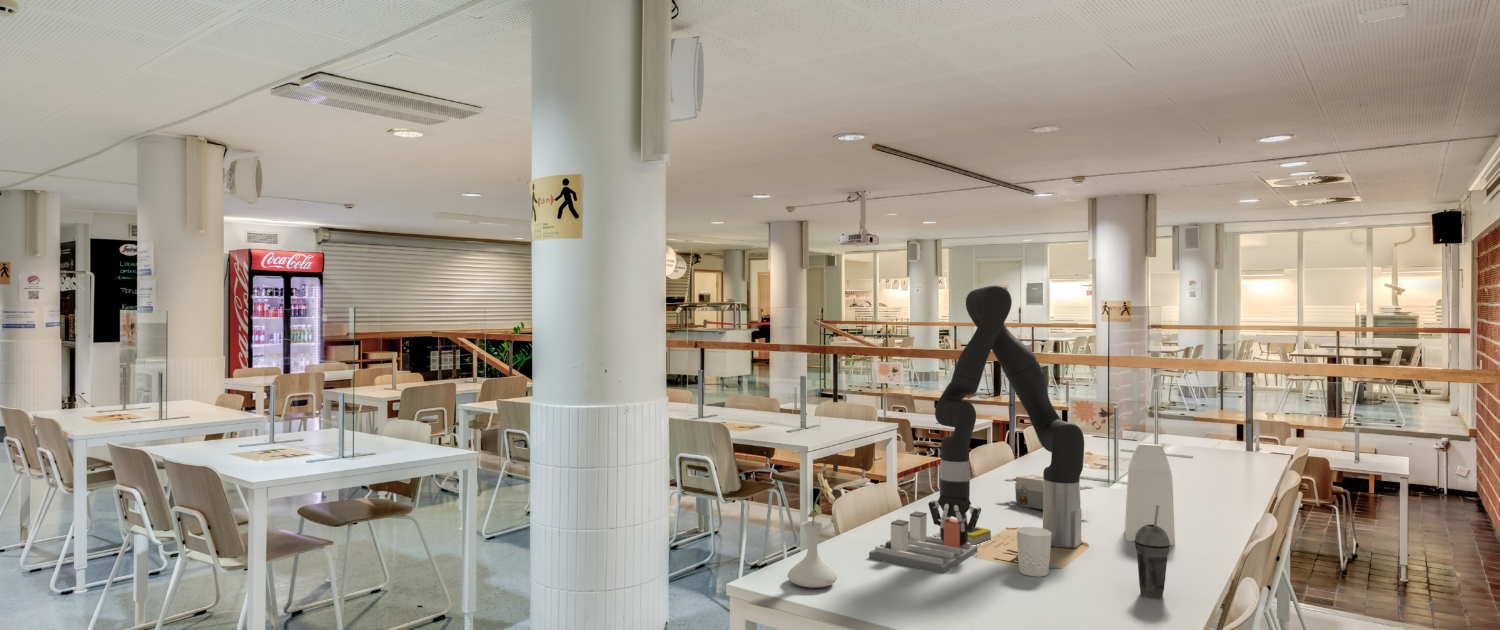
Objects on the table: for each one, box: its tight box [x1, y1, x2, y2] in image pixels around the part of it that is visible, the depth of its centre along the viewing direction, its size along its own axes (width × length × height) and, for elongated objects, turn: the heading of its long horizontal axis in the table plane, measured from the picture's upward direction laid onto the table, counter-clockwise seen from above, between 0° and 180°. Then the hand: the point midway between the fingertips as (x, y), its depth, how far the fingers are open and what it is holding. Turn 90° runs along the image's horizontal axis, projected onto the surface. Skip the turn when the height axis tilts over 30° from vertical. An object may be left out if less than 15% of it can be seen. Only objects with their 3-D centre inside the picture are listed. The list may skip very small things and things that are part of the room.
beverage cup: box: [1133, 505, 1171, 600], centre depth 184 cm, size 7×7×20 cm
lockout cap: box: [944, 518, 961, 548], centre depth 213 cm, size 4×4×6 cm
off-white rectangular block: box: [909, 510, 928, 542], centre depth 219 cm, size 3×4×7 cm
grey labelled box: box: [1004, 473, 1094, 510], centre depth 265 cm, size 12×28×10 cm, turn 31°
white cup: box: [1016, 526, 1052, 578], centre depth 199 cm, size 8×8×10 cm
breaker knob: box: [890, 519, 910, 552], centre depth 210 cm, size 3×4×7 cm
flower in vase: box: [787, 472, 838, 589], centre depth 190 cm, size 13×11×25 cm
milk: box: [1124, 443, 1176, 546], centre depth 232 cm, size 12×12×26 cm
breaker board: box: [868, 530, 978, 574], centre depth 213 cm, size 20×22×4 cm
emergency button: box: [932, 525, 992, 547], centre depth 229 cm, size 9×4×15 cm
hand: (954, 543), depth 213 cm, fingers closed on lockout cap, 4 cm apart
